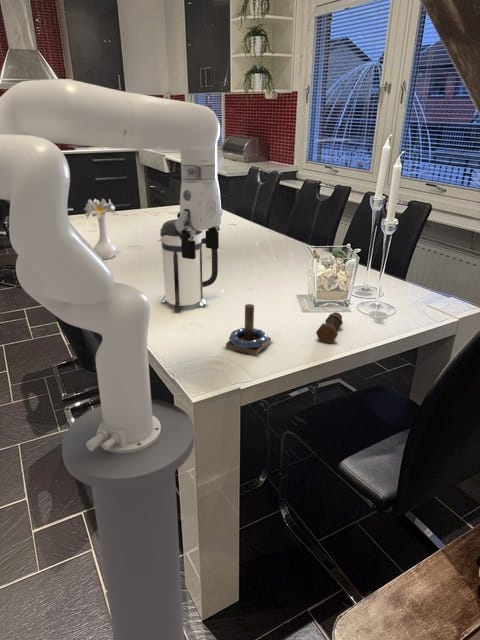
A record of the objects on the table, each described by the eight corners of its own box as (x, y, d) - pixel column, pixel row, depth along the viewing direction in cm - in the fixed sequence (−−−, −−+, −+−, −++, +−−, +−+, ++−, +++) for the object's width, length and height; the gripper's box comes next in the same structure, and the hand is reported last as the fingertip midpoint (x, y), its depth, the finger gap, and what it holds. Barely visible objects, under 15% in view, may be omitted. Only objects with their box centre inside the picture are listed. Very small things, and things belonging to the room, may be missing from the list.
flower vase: (111, 250, 215) (105, 194, 205) (126, 259, 201) (121, 200, 191) (83, 254, 208) (76, 196, 198) (97, 263, 194) (90, 202, 184)
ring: (257, 352, 118) (258, 345, 117) (222, 344, 123) (222, 337, 122) (273, 338, 126) (274, 331, 126) (239, 330, 131) (239, 324, 130)
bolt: (338, 328, 141) (327, 347, 128) (324, 318, 141) (312, 336, 128) (349, 314, 138) (340, 332, 125) (335, 304, 138) (324, 321, 125)
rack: (256, 355, 120) (257, 314, 115) (226, 348, 124) (225, 308, 119) (270, 342, 127) (272, 303, 123) (241, 335, 131) (242, 297, 127)
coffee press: (200, 315, 144) (197, 218, 132) (153, 309, 148) (146, 214, 137) (218, 297, 159) (218, 208, 148) (175, 292, 164) (171, 205, 152)
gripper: (191, 178, 89) (193, 265, 96) (234, 171, 103) (234, 247, 110) (159, 176, 92) (164, 260, 99) (205, 169, 106) (206, 243, 113)
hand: (200, 253), depth 104 cm, fingers open, 9 cm apart
